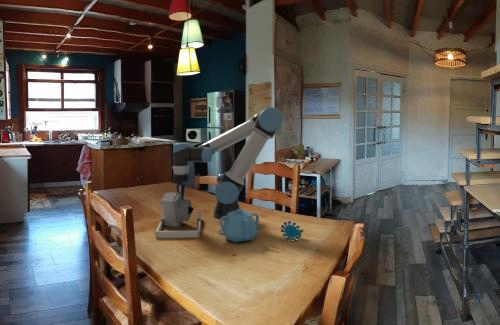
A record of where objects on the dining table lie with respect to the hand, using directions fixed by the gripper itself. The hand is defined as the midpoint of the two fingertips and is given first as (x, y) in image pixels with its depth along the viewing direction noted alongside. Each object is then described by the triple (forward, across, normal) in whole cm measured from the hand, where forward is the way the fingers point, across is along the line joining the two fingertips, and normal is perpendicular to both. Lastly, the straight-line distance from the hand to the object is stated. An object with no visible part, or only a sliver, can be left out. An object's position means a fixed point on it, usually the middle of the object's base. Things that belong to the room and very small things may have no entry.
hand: (181, 218), depth 206 cm
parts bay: (+2, +17, +1) cm, 17 cm away
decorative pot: (+2, +28, +29) cm, 40 cm away
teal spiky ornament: (+2, +29, +52) cm, 60 cm away
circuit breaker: (+1, +5, 0) cm, 5 cm away
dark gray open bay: (+2, +2, 0) cm, 3 cm away
